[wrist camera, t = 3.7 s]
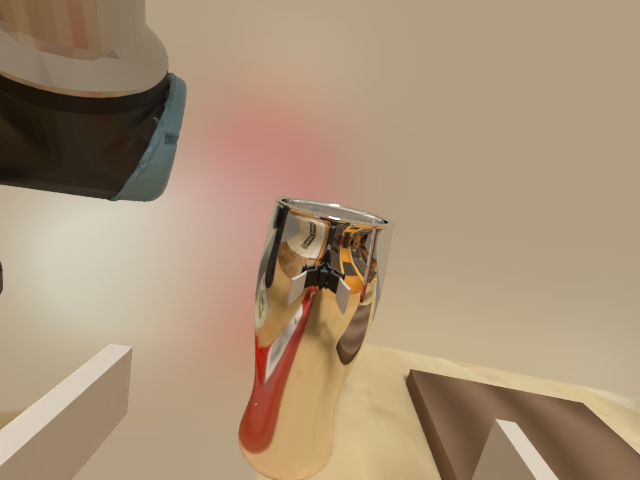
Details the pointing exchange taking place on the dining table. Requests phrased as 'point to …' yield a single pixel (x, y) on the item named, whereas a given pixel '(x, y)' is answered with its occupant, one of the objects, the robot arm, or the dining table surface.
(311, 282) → the silver metal tumbler
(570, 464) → the walnut board
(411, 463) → the dining table surface
